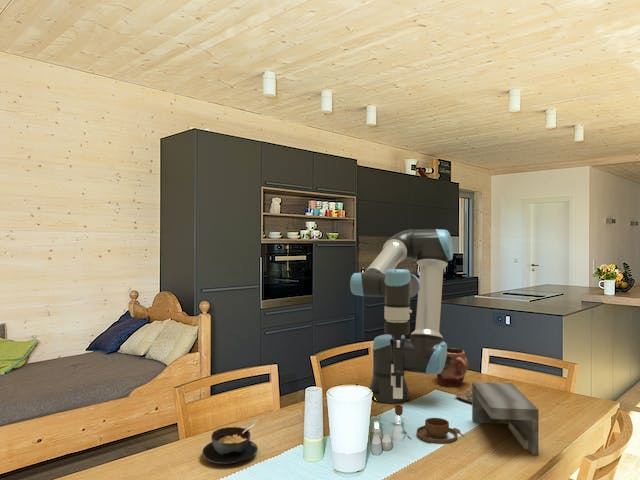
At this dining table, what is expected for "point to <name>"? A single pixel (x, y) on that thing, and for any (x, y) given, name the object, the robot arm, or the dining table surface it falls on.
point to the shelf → (507, 411)
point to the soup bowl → (230, 445)
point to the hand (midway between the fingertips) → (396, 391)
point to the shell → (466, 396)
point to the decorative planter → (453, 368)
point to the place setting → (433, 429)
